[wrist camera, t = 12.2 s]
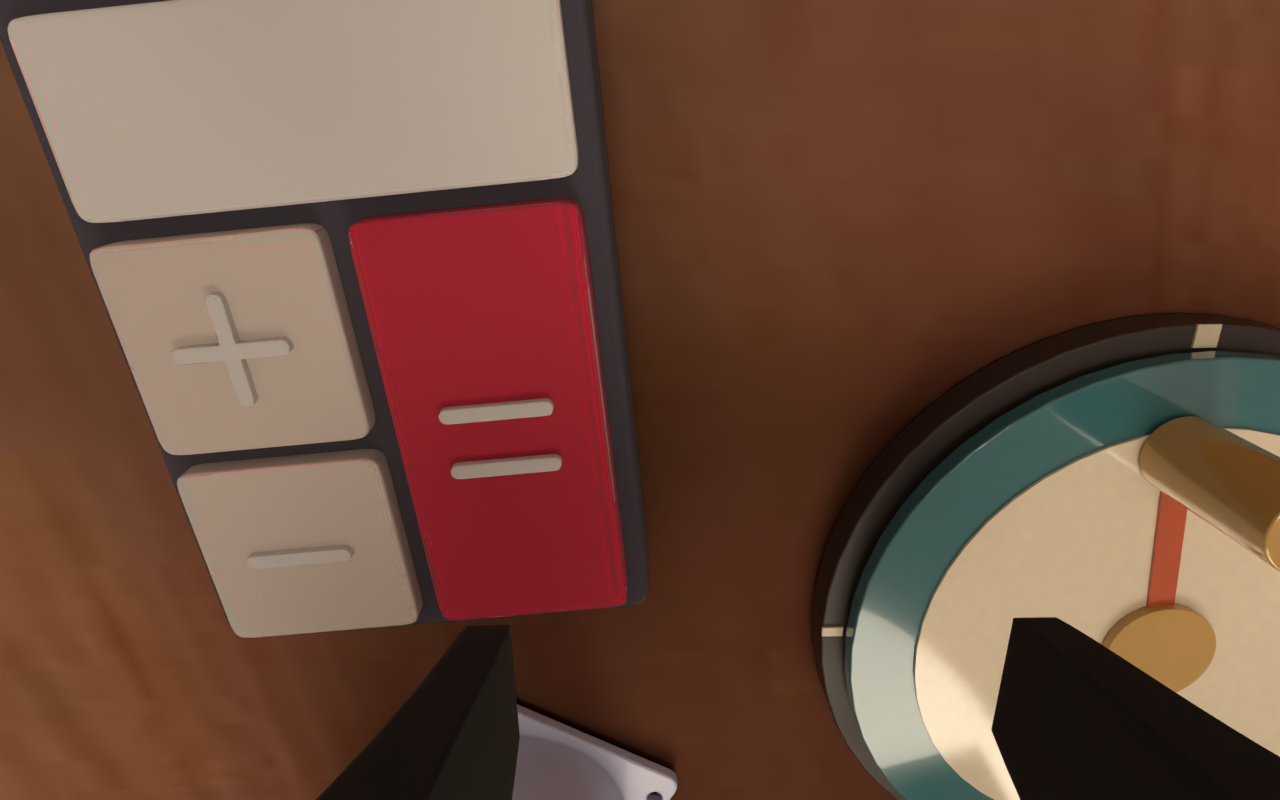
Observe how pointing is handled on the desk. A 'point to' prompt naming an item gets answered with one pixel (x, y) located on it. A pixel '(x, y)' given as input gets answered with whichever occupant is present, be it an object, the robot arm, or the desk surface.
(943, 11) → the desk surface
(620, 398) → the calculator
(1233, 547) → the turntable with peg
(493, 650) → the robot arm
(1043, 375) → the stand
